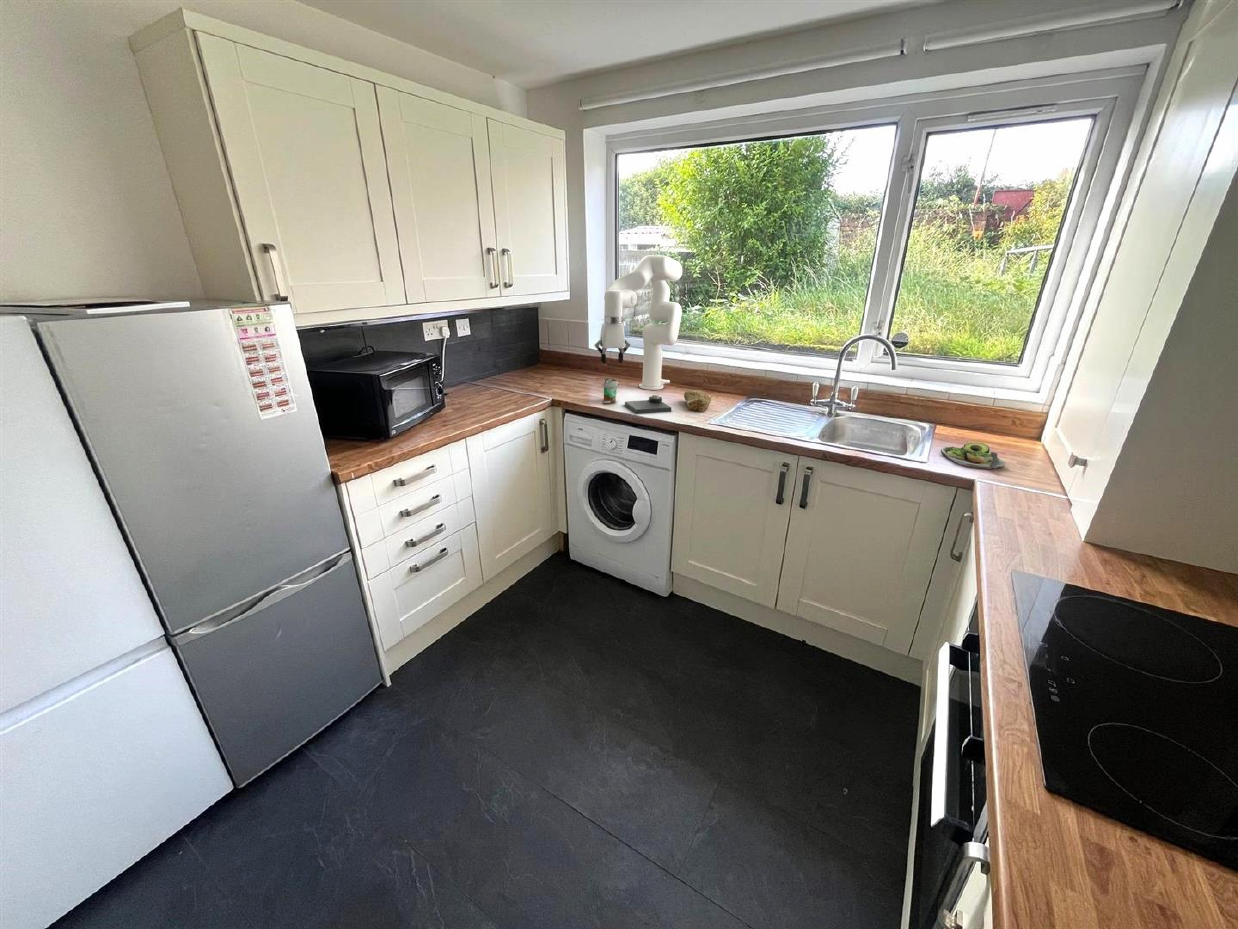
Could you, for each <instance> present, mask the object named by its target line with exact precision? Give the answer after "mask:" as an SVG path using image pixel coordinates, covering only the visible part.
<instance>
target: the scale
mask: <svg viewBox="0 0 1238 929" xmlns="http://www.w3.org/2000/svg"><path fill="white" fill-rule="evenodd" d="M624 407H626V408H627V409H629V410H630V411H632V413H634V414H635V415H643V414H656V413H671V412H672V407H671V406H670V405H668V404H667V403H664V402H663V397H662V396H659V398H658V399H654V398H652V395H650V396H649V397H648V399H646V400H629V401H628V400H626V401H624Z"/></svg>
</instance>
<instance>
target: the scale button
mask: <svg viewBox="0 0 1238 929" xmlns="http://www.w3.org/2000/svg"><path fill="white" fill-rule="evenodd" d="M651 396H652V398H654V399H658V398H659V397H660V394H659V393H652V395H651Z"/></svg>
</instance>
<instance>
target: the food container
mask: <svg viewBox="0 0 1238 929" xmlns="http://www.w3.org/2000/svg"><path fill="white" fill-rule="evenodd" d="M618 381H619V380H618V379H616V378H614V377H604V382H603V405H606V406H607V405H614V404H615V403H616V398H617V388H618V386H619V382H618Z"/></svg>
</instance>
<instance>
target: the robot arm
mask: <svg viewBox="0 0 1238 929" xmlns="http://www.w3.org/2000/svg"><path fill="white" fill-rule="evenodd" d="M682 275H683V267H682V264H681V263H680V261H678V260H677V259H674V258H672V257H670V256H667V255H663V254H661V255H660V254H659V255H658V254H657V255H656V254H648V255H645V256H644V257H642V259H641V260H640V261H639V262H638V263H637V265H636V266H635V267H634V268H633V270H632V271H630V272H629V273H626V274H625V275H623V276H620V277H619V278H617V279H615V280H613V282H611V284H610V285H609V286H608V288H607V289H606V290H605V293H604V296H603V298H604V317H603V321H604V322H603V323H602V324H601V329H600V334H599V335H600V336H599V340H598V341H596V343H594V347H595V349H596V350H597V351H598V352H599V353H600V361H601V363H602V364H603V365H605V364H607V355H606V352H607V350H608V349H618V351H619V352H618V357H617V358H618V360H617V361H618V363H619V364H623V361H624V354H625V353H626V352H627V351H628V349H629V348H630V346H631V343H629V342H628V341H627V339H626V335H625V334H626V333H625V327H624V324H623V322H625V321H626V318H625V317H623V308H624V309H631V308H633V307H635V306H636V304H637V303H638V295H637V293H636V292H635V291H637V290H642V289H643V288H645V287H646V285H647V284H648V283H649V282H650V283H651V286H652V295H651V300H650V307H649V318H650V320H652V321H653V323H652V322H651V323H647V324H645V325H644V327H643V329H642V341H643V342H642V343H643V360H642V361H643V362H642V380H641V383H639V384H638V387H639V388H640V389H642V390H646V391H647V390H648V391H659V390H662V389H663V390H664V387H665V386H664V385H665V384H667V385H668V384H670V383H671V380H670V379H663V378H662V372H663V371H662V370H663V357H664V355H663V354H664V353H663V349H662V347H661V345H663V346H673V345H675V344H676V342H677V341H678V337H679V331H680V327H681V320H682V317H683V316H682V315H683V309H682V306H681V304H680V303H679V302H675V301H670V297H671V289H670V287H669V284H668V283H667V282H676V281H679V280H680V279H681V277H682ZM654 321H655V322H663V323H654ZM665 323H667V324H665Z"/></svg>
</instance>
